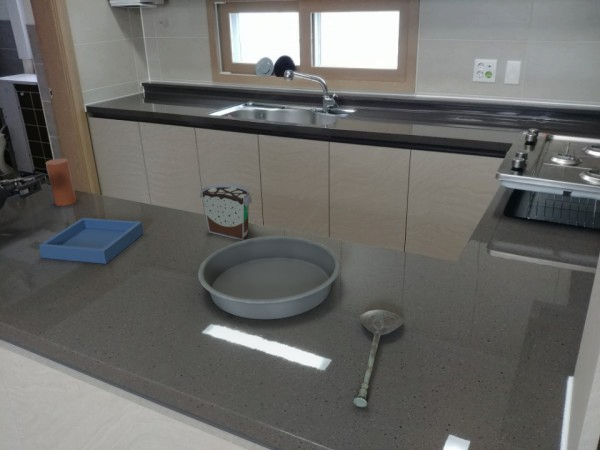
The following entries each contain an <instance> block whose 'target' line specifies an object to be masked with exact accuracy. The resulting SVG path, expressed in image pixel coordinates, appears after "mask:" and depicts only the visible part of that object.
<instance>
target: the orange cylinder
mask: <svg viewBox="0 0 600 450" xmlns="http://www.w3.org/2000/svg"><path fill="white" fill-rule="evenodd" d="M45 166H46V172H47V176H48V180H49V184H50V188H51V189H50V190H51V193H52V197H53V201H54V205H55V206H58V207H65V206H70V205H73V204H75V203H76V202H77V197H76V191H75V187H74V182H73V179H72V177H73V176H72V173H71V168H70V164H69V159H67V158H53V159H50V160H47V161H46V162H45Z"/></svg>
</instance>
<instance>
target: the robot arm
mask: <svg viewBox="0 0 600 450" xmlns="http://www.w3.org/2000/svg"><path fill="white" fill-rule="evenodd" d="M17 183H19V185H18V184H17ZM46 183H47V177H46V174H45V173H42V172H41V173H39V174H37V175H36V174H35V175H34V176H32V177H30V178H22V177H18V178H17V177H16V175H15V172H14V171H9V172H6V173H4V174H1V175H0V210H2V209H3V208H4V207H5V205H6V202H7V200H8V199H12V198H14V197H16V196H19V198H20V199H26V198H28V197H29V196H32V195H34V194H36V193H39V192H40V191H43V187H42V185H43V184H46Z"/></svg>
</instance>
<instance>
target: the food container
mask: <svg viewBox="0 0 600 450" xmlns="http://www.w3.org/2000/svg"><path fill="white" fill-rule="evenodd" d="M199 198H202V203H203V208H204V209H203V210H204V214H205V219H206V224H207V228H208V229H207V230H208V233H210V234H214V235H218V236H223V237H227V238H230V239H234V240H235V239H236V240H238V241H242V240H247V239H248V236H249V210H250V209H249V208H250V205H251V204H252V202H253V199H252V195H251V192H250V191H249V189H248V188H247V187H246V186H244V185H241V184H235V183H220V184H219V183H217V184H212V185H208V186H204V187H202V188H200V191H199Z"/></svg>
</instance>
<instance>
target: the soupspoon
mask: <svg viewBox="0 0 600 450" xmlns="http://www.w3.org/2000/svg"><path fill="white" fill-rule="evenodd" d="M359 320H360V322H361V324H362V325H363V327H365V328H366V329H367V330H368V331H369V332H370V333H372V334H373V337H372V342H371V346H370V350H369V356H368V359H367V364H366V365H367V366H366V370H365V372H364V373H365V374H364V379H363V383H361V385H360V386H361V388H360V389H359V391H358V394H357V396H356V397H355V398H354V399H353V400H352V402H353V404H354V405H355V406H356V407H359V408H366V407H367V406H368V401H367V394H368V388H369V383H370V380H371V376H372V372H373V368H374V363H375V359H376V354H377V350H378V347H379V344H380V341H381V336H384V335H387V334H390V333H392V332H394V331H395V330H397V329H399V328H400V327H401V326H402V325H403V324H404V319H403V318H402V317H401V316H400V315H399V314H397V313H394V312H392V311H389V310H385V309H372V310H368V311H365V312H363V313H362V314H361V315H360V316H359Z"/></svg>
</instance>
